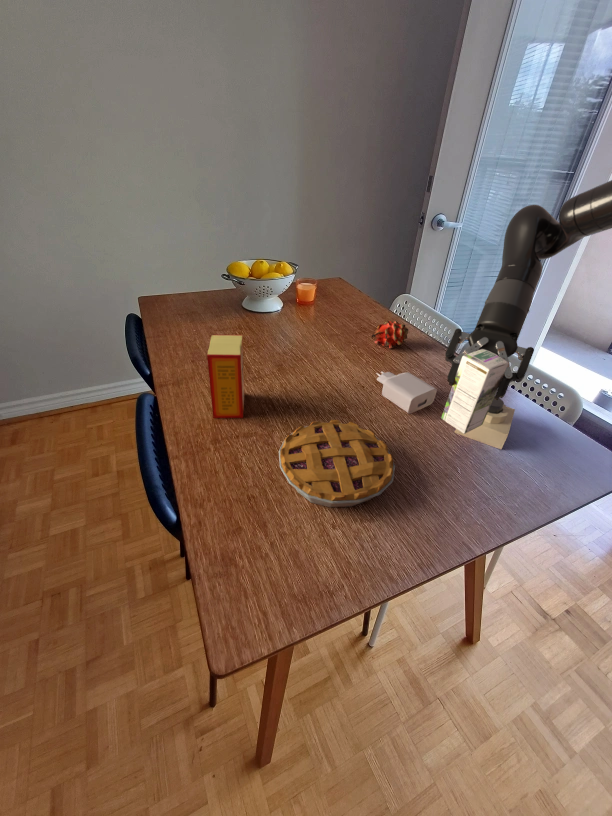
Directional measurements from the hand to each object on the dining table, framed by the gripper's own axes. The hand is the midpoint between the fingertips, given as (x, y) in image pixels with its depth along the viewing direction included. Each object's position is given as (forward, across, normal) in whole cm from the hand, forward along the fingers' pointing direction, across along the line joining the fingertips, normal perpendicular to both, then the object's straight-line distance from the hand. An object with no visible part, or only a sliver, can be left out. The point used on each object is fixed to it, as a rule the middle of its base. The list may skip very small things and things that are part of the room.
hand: (473, 391), depth 72 cm
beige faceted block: (+1, -4, -22) cm, 22 cm away
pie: (+23, +18, 0) cm, 29 cm away
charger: (0, +17, -24) cm, 29 cm away
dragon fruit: (-17, +29, -41) cm, 53 cm away
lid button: (-3, -4, -18) cm, 19 cm away
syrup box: (+5, 0, -7) cm, 8 cm away
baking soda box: (+20, +48, -4) cm, 52 cm away
